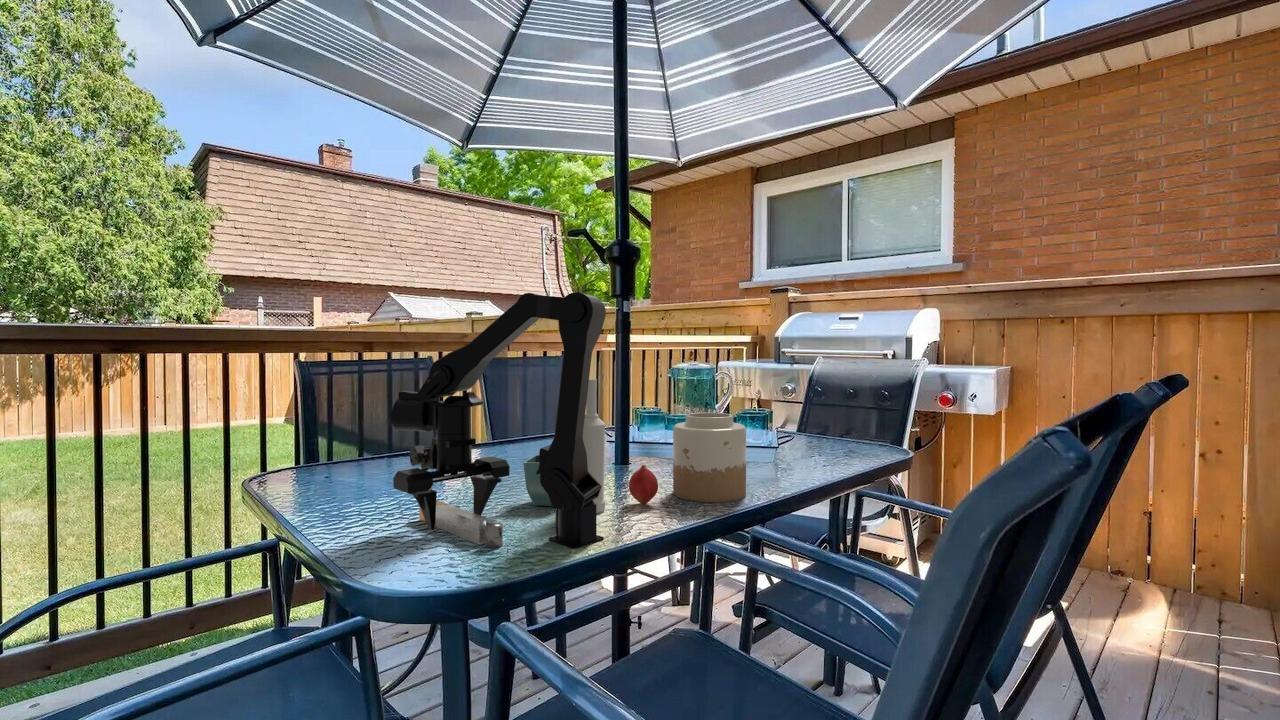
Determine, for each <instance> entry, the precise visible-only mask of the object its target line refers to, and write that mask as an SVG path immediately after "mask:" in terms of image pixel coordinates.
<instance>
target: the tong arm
mask: <svg viewBox="0 0 1280 720" xmlns="http://www.w3.org/2000/svg"><path fill="white" fill-rule="evenodd" d="M418 506H419V505H418ZM418 510H419V512H418V514H419V515H418V517H419V521H421V522H423V523H426V521H425V518H424V516H423V513H422V511H421V508H420V506H419V507H418ZM485 525H486V520H484V519H481V518H478V517H475V516H472V515H470V514H467V513H464V512H461V511H459V510H456V509H453V508H450V507H447V506H445V505H442V504H439V503H436V518H435V527H436V528H437V529H441V530H443V531H445V532H448V533H450V534H452V535H455V536H458V537H459V538H462V539H465V540H467V541H469V542H471V543H475V544H477V545H479V546H481V545H484V544H485V545H486V538H485ZM435 527H434V528H435Z"/></svg>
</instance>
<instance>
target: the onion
mask: <svg viewBox="0 0 1280 720" xmlns="http://www.w3.org/2000/svg"><path fill="white" fill-rule="evenodd" d="M658 482H659V481H658V479H657V477H656V475H655V474H654V473H653V472H652V471H651V470H650V469H649V468H647V465H646V464H641V466H640V468H638V469H637V470H636V471H635V472H633V474H632V475H631V476H630V479H629V482H628V489H629V493H630V495H631V496H632V497H633V499H634V500H636V501H637V502H638V503H639V504H640V505H642V506H645V505H647V504H648V503H649V502H650V501H651V500H653V498H654V497H656V495H657V493H658V490H659V484H658Z"/></svg>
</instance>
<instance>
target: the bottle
mask: <svg viewBox="0 0 1280 720" xmlns="http://www.w3.org/2000/svg"><path fill="white" fill-rule="evenodd" d="M597 382H598V379H597V378H589V384H588V393H587V402H586V411H585V420H584V429H583V442H584V445H585V449H586V453H587V466H588V472H589V473H590V474H591V475H592V476H593V477H594V478H595V479H596V481H597V482H598V483H599V484H600V485H601V490H600V493H599V496H598V497H597V498H595V499H594V500H592V501H594V504H596V515H597V514H602V513H604V512H605V509H606V500H605V455H606V454H605V452H606V451H605V448H606V447H605V446H606V443H605V442H606V441H605V439H606V424H605V422H604V421H603V420H602V419H601V418H599V414H598V413H597V405H598V404H597V390H598V383H597Z"/></svg>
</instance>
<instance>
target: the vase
mask: <svg viewBox="0 0 1280 720" xmlns="http://www.w3.org/2000/svg"><path fill="white" fill-rule="evenodd" d="M673 425H674V426H673V429H672V453H673V454H672V464H673V465H672V488H673V489H672V490H673V495H674V496H676V497H677V498H678V499H679V498H680V499H683V500H685V501H689V500H690V501H691V502H696V501H698V502H697V503H708V502H718V503H729V501H730V502H735V501H739V500H741V499H743V498H744V497H745V496H746V494H747V429H746V428H747V427H746V426H745V425H744V424H743V423H742V424H741V423H738V422H734V416H733V414H730V413H726V412H725V413H723V412H692V413H688V414H686V416H685V421H683V422H679V423H676V424H673ZM738 499H739V500H738Z"/></svg>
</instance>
